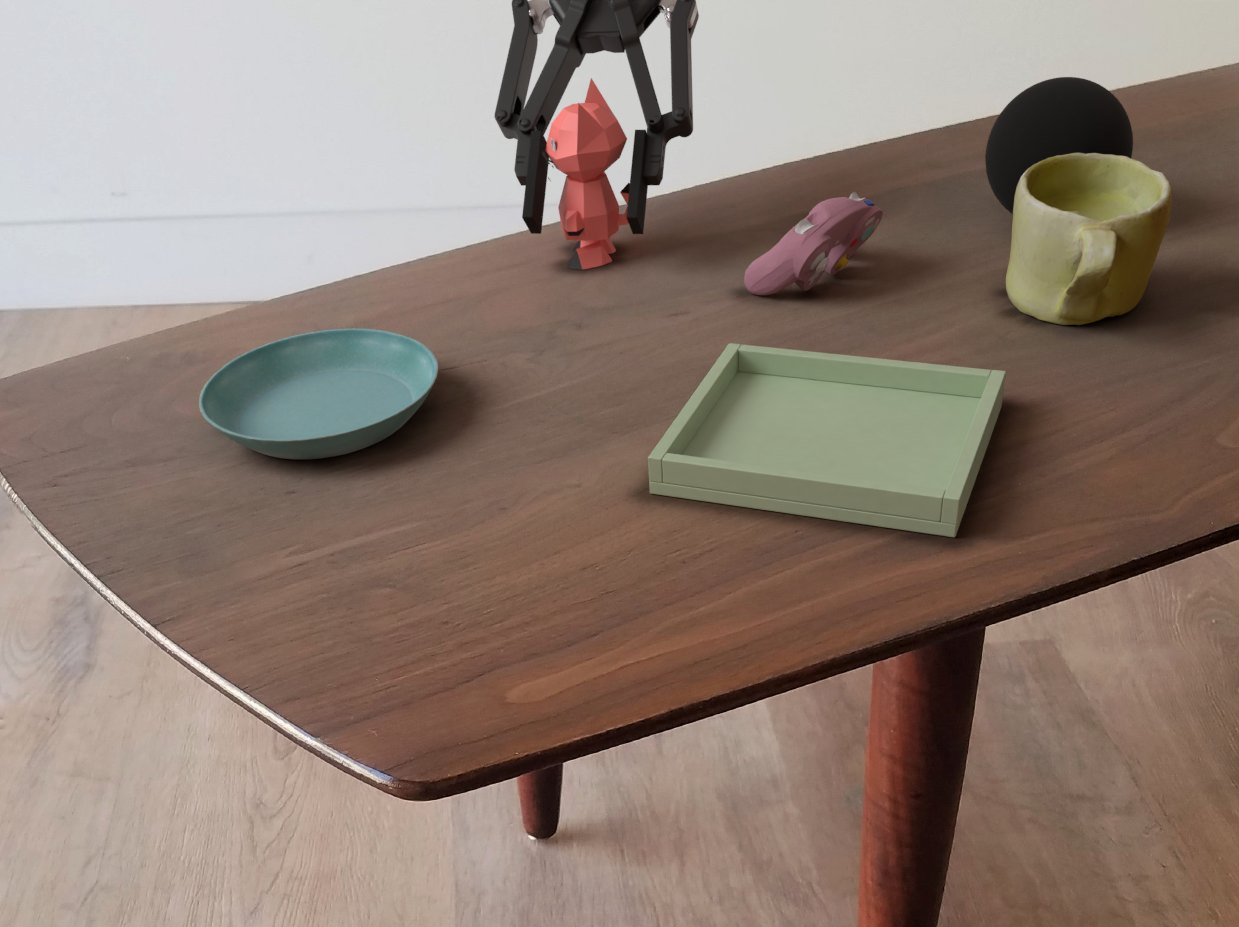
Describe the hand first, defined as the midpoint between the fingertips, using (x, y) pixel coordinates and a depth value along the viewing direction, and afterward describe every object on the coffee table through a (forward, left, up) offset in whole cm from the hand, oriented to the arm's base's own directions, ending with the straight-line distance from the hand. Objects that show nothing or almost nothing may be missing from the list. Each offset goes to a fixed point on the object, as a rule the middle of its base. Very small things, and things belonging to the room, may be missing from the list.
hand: (582, 225), depth 98 cm
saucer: (+8, +25, -4) cm, 26 cm away
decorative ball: (-30, -16, -4) cm, 35 cm away
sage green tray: (-23, +21, -4) cm, 31 cm away
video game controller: (-16, -2, -4) cm, 17 cm away
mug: (-34, -1, -4) cm, 34 cm away
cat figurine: (+1, -3, -4) cm, 5 cm away
